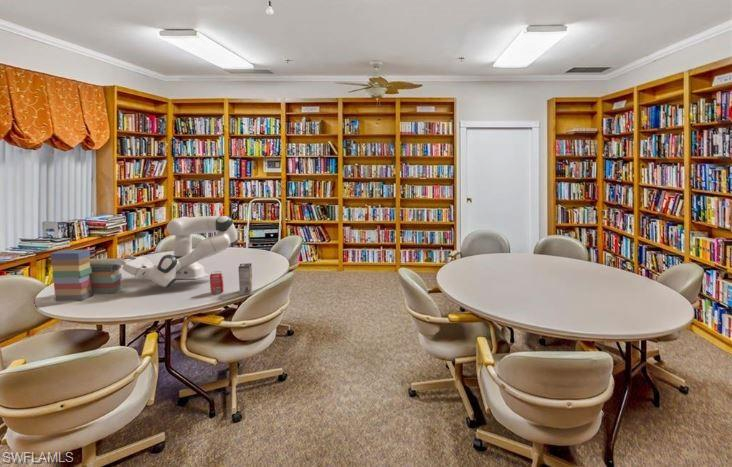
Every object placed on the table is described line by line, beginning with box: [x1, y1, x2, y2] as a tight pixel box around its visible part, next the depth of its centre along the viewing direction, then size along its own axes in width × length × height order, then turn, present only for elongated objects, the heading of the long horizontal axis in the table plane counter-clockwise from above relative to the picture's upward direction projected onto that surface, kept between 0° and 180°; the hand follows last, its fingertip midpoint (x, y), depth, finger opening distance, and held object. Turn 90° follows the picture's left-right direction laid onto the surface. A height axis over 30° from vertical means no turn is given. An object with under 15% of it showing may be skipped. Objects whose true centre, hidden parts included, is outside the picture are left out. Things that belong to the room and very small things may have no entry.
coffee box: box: [238, 262, 253, 295], centre depth 233 cm, size 9×6×16 cm
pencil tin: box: [90, 258, 126, 266], centre depth 231 cm, size 24×4×3 cm, turn 94°
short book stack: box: [89, 265, 123, 295], centre depth 233 cm, size 16×10×16 cm, turn 94°
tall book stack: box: [49, 249, 94, 302], centre depth 220 cm, size 14×10×26 cm
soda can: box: [209, 270, 225, 295], centre depth 232 cm, size 7×7×12 cm
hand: (124, 258), depth 232 cm, fingers open, 8 cm apart
